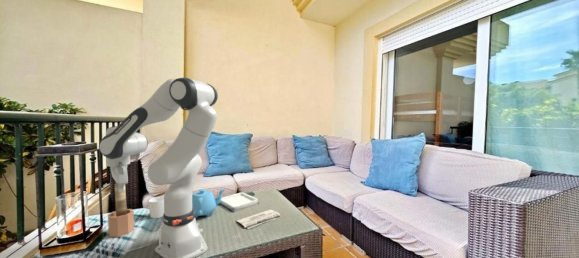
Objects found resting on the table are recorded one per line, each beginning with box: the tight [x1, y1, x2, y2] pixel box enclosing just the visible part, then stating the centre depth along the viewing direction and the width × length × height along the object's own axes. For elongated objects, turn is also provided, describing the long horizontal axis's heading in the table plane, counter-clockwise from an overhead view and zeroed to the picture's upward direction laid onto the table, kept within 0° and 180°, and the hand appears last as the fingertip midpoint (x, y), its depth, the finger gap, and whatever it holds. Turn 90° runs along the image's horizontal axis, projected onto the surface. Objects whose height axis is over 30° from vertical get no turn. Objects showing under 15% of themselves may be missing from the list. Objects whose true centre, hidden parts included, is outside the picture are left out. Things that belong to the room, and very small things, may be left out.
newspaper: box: [236, 209, 281, 230], centre depth 122 cm, size 23×12×2 cm, turn 129°
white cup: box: [148, 196, 164, 219], centre depth 123 cm, size 8×8×10 cm
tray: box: [219, 191, 260, 212], centre depth 144 cm, size 20×18×2 cm
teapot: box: [192, 188, 226, 219], centre depth 128 cm, size 16×20×14 cm
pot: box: [107, 208, 135, 238], centre depth 106 cm, size 9×9×10 cm
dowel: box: [114, 182, 128, 217], centre depth 105 cm, size 4×4×15 cm
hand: (120, 190), depth 105 cm, fingers closed on dowel, 4 cm apart
